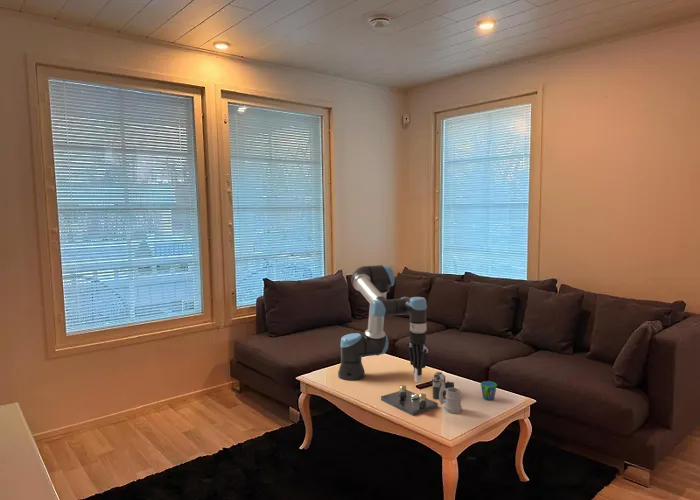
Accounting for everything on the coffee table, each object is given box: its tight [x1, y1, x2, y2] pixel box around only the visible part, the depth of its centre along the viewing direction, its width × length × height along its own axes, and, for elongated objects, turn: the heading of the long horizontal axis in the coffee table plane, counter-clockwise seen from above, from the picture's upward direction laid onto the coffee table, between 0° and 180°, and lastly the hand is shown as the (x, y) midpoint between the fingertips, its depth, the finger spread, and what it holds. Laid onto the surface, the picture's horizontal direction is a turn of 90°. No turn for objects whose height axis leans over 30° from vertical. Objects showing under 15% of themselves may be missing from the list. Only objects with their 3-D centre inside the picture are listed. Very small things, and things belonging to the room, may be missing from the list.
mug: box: [438, 382, 463, 414], centre depth 234 cm, size 8×12×12 cm, turn 43°
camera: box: [431, 371, 455, 400], centre depth 253 cm, size 16×10×10 cm, turn 163°
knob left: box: [399, 384, 407, 400], centre depth 245 cm, size 3×10×4 cm, turn 169°
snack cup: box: [480, 380, 498, 401], centre depth 247 cm, size 11×8×7 cm
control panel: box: [380, 389, 439, 416], centre depth 242 cm, size 23×16×4 cm
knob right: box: [418, 393, 427, 409], centre depth 233 cm, size 3×10×4 cm, turn 169°
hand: (417, 381), depth 230 cm, fingers closed
